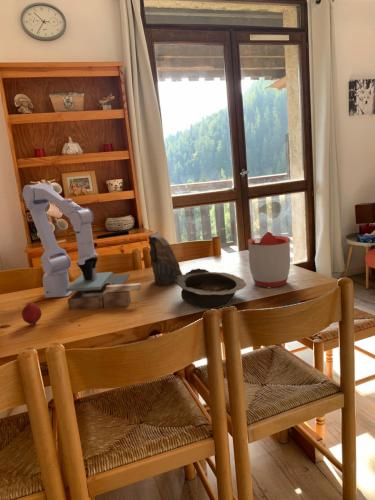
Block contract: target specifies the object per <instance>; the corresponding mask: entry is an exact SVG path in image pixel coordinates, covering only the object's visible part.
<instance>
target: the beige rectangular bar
mask: <svg viewBox="0 0 375 500" xmlns="http://www.w3.org/2000/svg"><path fill="white" fill-rule="evenodd" d="M141 290H142V284H141V283H140V282H138V283H124V284H119V285H107V286H106V292H122V291H130V292H136V291H137V292H138V291H141Z"/></svg>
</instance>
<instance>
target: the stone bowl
mask: <svg viewBox="0 0 375 500" xmlns="http://www.w3.org/2000/svg"><path fill="white" fill-rule="evenodd" d="M174 281H175V283H174V284H176V285H178V286H179V287H180V289H181V293H180V294H181V299H182V300H183V301H190V302H192V303H193V304H194V306H195V307H197V308H201V309H206V308H215V307H217V306H223V305H224V306H225V305H228V304H229V303H230V302H231V301H232V300H233V298H234V296H235V293H237V292H239V291H241V290H243V289H244V288H246V286H247V282H246V281H245V280H244V279H243V278H242V277H239V276H236V275H234V274H232V273H227V272H219V271H218V272H217V271H216V272H215V271H214V272H213V271H212V272H211V271H209V270H206V269H205V268H195V269H193V268H192V269H190V271H188V272H186V273H185V274H183V275H177V277H176V278H174Z"/></svg>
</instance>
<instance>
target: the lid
mask: <svg viewBox="0 0 375 500" xmlns="http://www.w3.org/2000/svg"><path fill="white" fill-rule="evenodd" d="M112 275H114V272H113V271H107V272H106V271H105V272H97V269H96V267H95V268H92V280H85V277H84V275H83V273H81V275H79V276H78V277H77V278H76V279H75V280H74V281H72V283H70V286H68V287H67V288H66V292H67V291H73V292H76V291H84V290H100V289H101V288H102V287H103V285H104V284H105V283H106V282H107V281H108V279H109V278H110V277H111V276H112Z"/></svg>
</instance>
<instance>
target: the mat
mask: <svg viewBox="0 0 375 500" xmlns="http://www.w3.org/2000/svg"><path fill="white" fill-rule="evenodd" d="M130 276H131V274H130V273H123V274H121V273H120V274H119V273H118V274H113V275H112V276H111V277H110V278H109V279H108V281H107V282H114V285H119V284H126V281H127V280H128V278H129V277H130Z"/></svg>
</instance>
